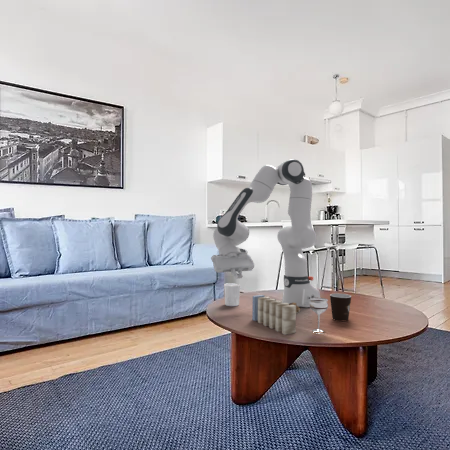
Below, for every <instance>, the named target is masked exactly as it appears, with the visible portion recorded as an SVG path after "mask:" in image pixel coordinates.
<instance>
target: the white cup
mask: <svg viewBox="0 0 450 450" xmlns="http://www.w3.org/2000/svg"><path fill="white" fill-rule="evenodd" d="M223 285H224V287H223V288H224V304H225V306H227V307H238V306H239V305H240V295H241V284H240V283H236V282H235V283H234V282H233V283H232V282H231V283H230V282H228V283H224V284H223Z"/></svg>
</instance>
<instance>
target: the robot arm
mask: <svg viewBox="0 0 450 450" xmlns="http://www.w3.org/2000/svg"><path fill="white" fill-rule="evenodd" d="M304 169H305V168H304V165H303V164H302V162H301V161H300V160H298V159H295V158H294V159H292V158H291V159H288V160H286V161H283V162H281V163H280V165H278V166H275V167H274V166H273V165H270V164H265V165H263V166H261V168H260V169H259V170H258V171H257V173H256V175H255V176H254V177H253V179H252V181H251V183H250V184H249V185H248V186H247V187H245V188H243V189H242V190H241V192H239V194H238V195H237V196H236V198H235V199H234V201H232V203H231V204H230V206H229V208H228V209H227V210H226V211H225V213H223V214H222V215H221V216H220V218H219V219H218V221H217V224H216V225H217V226H216V228H214V230H213V235H212V236H213V237H212V238H213V240H214V244H215V246H216V248H217V249H218V254H213V255H212V256H211V257H210V259H211V262H212V264H213V270H214V272H215V273H217V274H219V273H221V274H222V273H230V274H231V275H233V276H234V277H235V279H236V280H237V279H242V278H243V274H242V273H243V272H251V271H253V269H254V268H255V263H254V260H253V259H252V256H251V255H249V254H248V251H249V250H247V249H245V248H241V247H238V246H239V245H241V244H243V243H244V242H247V240H248V238H249V236H250V228H249V227H248V226H247V225H246V224H244V223H242V222H241V221H239V220H238V218H239V216H240V215H241V213H242V212H243V211H244V209H245V207H246V206H247V205H248V204H250V203H256V204H260V203H261V204H262V203H264V202H266V201H267V200H268V199H269V198H270V196H271V195H272V193H273V191H274V189H275V186H276V185H280V186H287V185H288V187H289V191H290V193H289V200H288V201H289V202H288V209H287V214H288V216H289V218H290V223H291V225H288V226H285V227H282V228H280V229H279V230H278V232H277V241H278V243H279V244H280V246H281V250H282V253H283V258H284V275H283V294H282V299H281V301H282V303H289V304H290V303H296V305H297V306H298V307H299V308H300V307H302V308H310V301H311V300H310V298H315V297H318V298H321V293H320V290H319V289H317V288H316V287H315V286H314V285H313V284H312V283H311V282H310V281H314V279H315V278H314V276H310V275H308V260H307V258H306V256H305V254H304V253H303V250H304V249H309V248H312V247H314V246H315V245H316V243H317V233H316V231H315V230H314V227H313V225H312V220H311V209H312V200H313V199H312V198H313V184H312V180H310V179H309V178H307V177H306V172H305V170H304Z"/></svg>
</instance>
